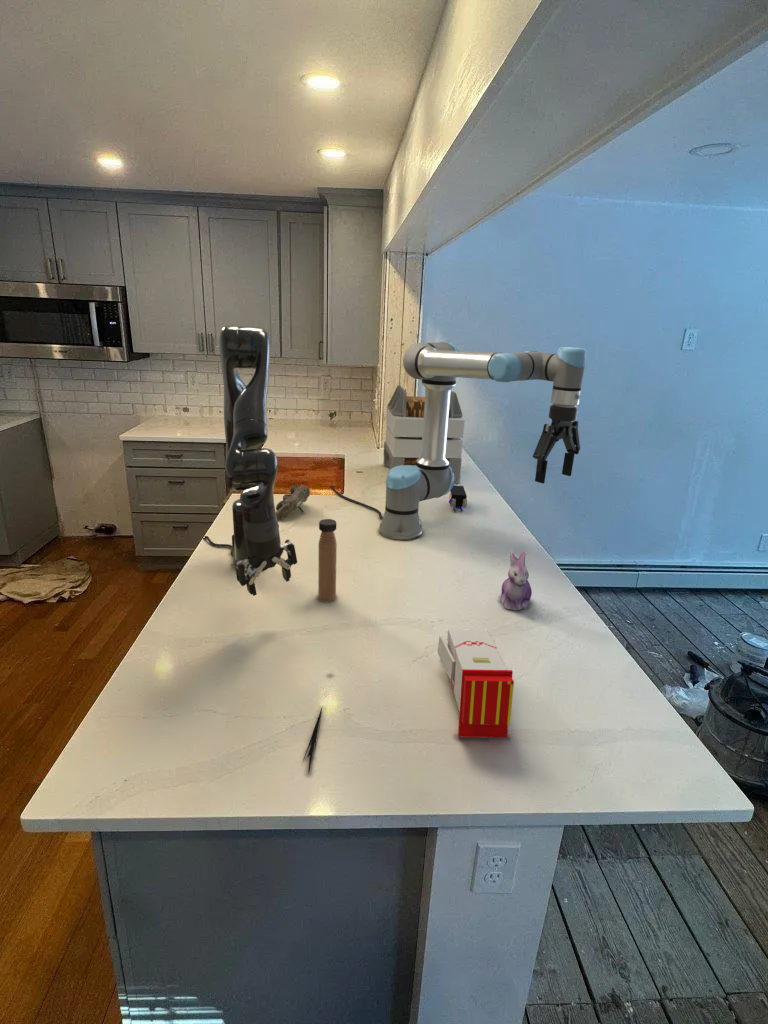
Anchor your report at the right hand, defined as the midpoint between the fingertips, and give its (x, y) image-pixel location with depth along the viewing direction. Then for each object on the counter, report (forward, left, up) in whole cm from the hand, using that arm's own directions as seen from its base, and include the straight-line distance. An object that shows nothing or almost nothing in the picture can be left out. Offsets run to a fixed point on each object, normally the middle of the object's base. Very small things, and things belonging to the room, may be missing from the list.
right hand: (553, 478), depth 165 cm
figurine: (+8, -22, -30) cm, 38 cm away
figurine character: (-56, +24, -30) cm, 68 cm away
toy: (+26, -62, -30) cm, 73 cm away
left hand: (-21, -82, -19) cm, 87 cm away
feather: (+13, -91, -30) cm, 97 cm away
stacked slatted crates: (-101, +46, -30) cm, 115 cm away
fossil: (-88, -33, -30) cm, 99 cm away
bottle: (-25, -62, -30) cm, 73 cm away
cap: (-25, -62, -8) cm, 67 cm away
